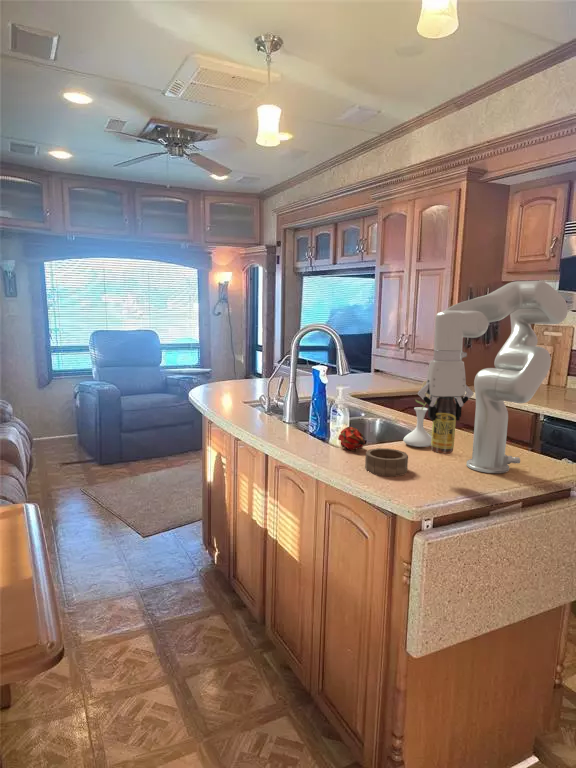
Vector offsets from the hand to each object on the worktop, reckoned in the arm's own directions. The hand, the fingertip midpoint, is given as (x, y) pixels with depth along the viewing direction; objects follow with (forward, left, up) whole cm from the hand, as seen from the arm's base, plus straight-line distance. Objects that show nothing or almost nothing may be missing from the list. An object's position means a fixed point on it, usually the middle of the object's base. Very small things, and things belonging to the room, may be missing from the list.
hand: (444, 419), depth 142 cm
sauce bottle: (0, 0, -10) cm, 10 cm away
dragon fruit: (+20, -34, -19) cm, 44 cm away
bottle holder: (+13, -11, -18) cm, 25 cm away
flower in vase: (-6, -39, -19) cm, 44 cm away
